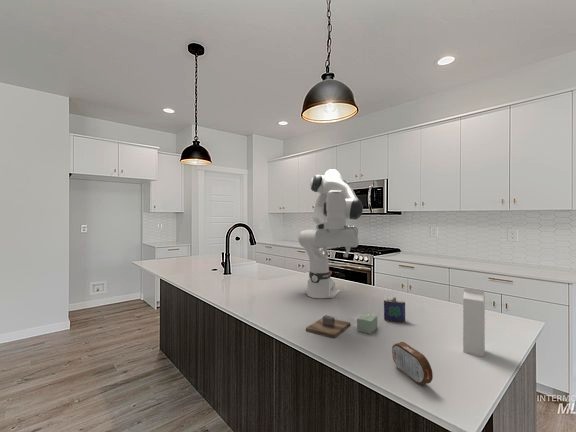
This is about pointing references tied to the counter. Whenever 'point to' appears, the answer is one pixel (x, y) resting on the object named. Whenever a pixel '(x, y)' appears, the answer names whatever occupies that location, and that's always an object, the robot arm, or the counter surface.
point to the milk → (474, 321)
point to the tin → (412, 363)
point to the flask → (394, 310)
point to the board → (328, 328)
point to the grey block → (328, 321)
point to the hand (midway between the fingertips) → (335, 256)
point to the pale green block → (367, 323)
